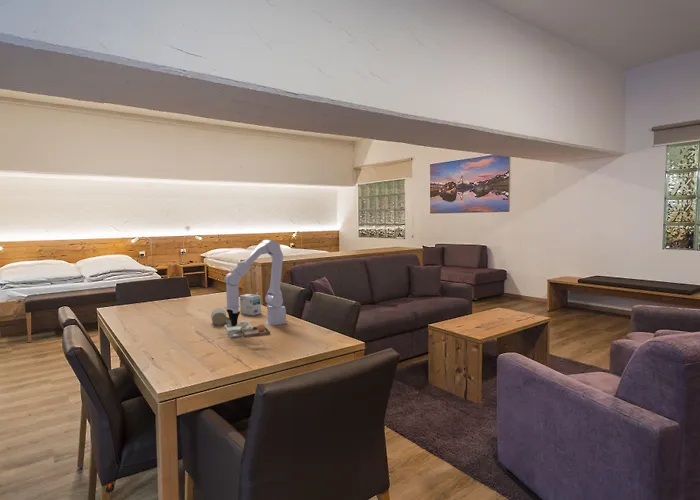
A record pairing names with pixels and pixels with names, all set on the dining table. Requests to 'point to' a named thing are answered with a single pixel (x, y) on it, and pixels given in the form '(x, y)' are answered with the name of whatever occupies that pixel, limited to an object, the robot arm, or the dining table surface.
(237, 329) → the sage tray
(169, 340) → the dining table surface
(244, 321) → the cream ball
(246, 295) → the light bulb box
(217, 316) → the ceramic mug
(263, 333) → the walnut tray
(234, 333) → the tile
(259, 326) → the terracotta ball
